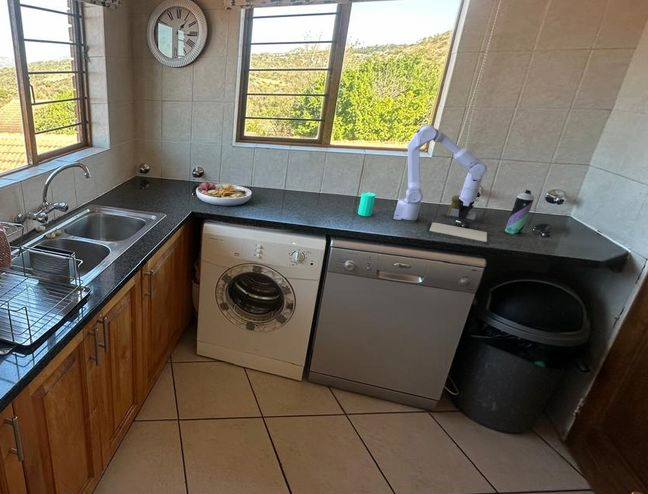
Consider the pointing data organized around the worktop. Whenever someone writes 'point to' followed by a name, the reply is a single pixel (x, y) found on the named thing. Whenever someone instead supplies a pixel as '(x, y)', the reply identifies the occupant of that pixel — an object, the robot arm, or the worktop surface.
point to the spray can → (520, 212)
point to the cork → (454, 204)
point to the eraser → (469, 217)
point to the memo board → (459, 231)
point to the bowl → (223, 194)
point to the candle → (366, 204)
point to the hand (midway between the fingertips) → (461, 217)
